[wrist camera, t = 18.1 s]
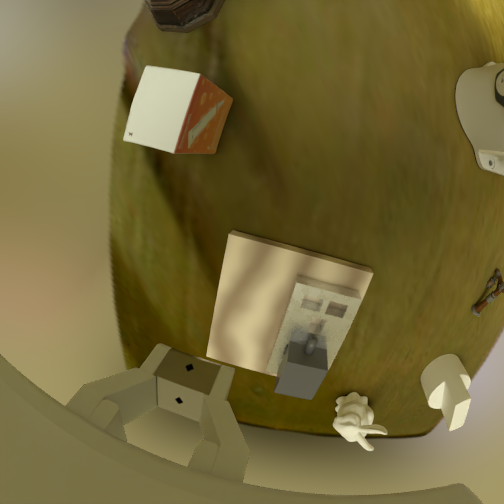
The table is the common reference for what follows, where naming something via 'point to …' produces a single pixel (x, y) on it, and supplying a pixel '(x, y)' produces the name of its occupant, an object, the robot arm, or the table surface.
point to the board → (267, 295)
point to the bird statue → (183, 13)
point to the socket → (303, 310)
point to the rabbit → (356, 419)
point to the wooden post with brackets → (500, 289)
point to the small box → (177, 112)
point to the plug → (302, 369)
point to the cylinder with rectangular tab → (447, 388)
